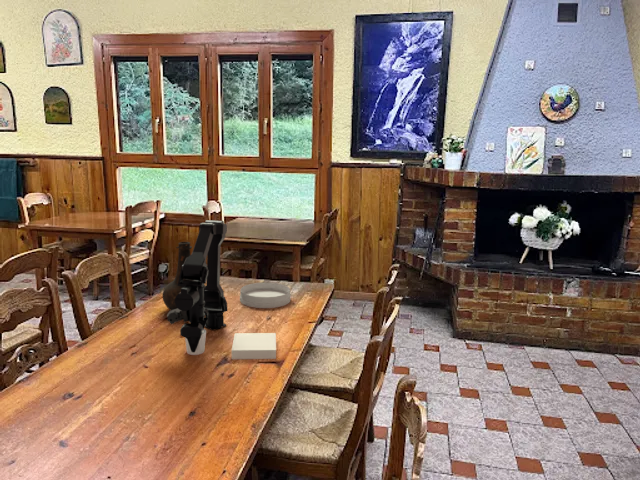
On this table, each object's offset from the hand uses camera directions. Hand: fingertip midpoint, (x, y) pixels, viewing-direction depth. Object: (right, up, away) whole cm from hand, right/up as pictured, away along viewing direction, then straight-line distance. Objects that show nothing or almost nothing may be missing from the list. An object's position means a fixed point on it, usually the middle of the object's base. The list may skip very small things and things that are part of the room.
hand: (195, 346), depth 157 cm
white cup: (0, -2, 0) cm, 2 cm away
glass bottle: (-14, +6, +38) cm, 41 cm away
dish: (+17, +8, +54) cm, 57 cm away
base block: (+19, -2, +3) cm, 19 cm away
